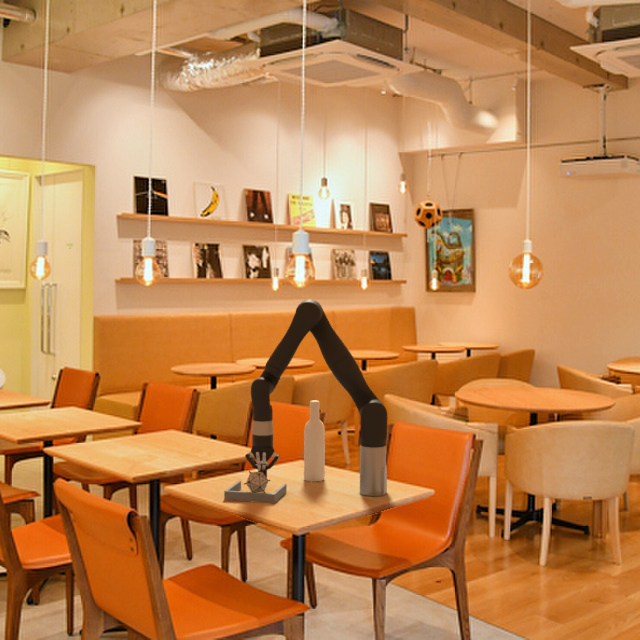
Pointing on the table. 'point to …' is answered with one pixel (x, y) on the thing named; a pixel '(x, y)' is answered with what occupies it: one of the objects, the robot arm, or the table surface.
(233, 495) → the bay
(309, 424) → the bottle
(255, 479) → the game die
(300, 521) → the table surface
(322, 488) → the table surface
